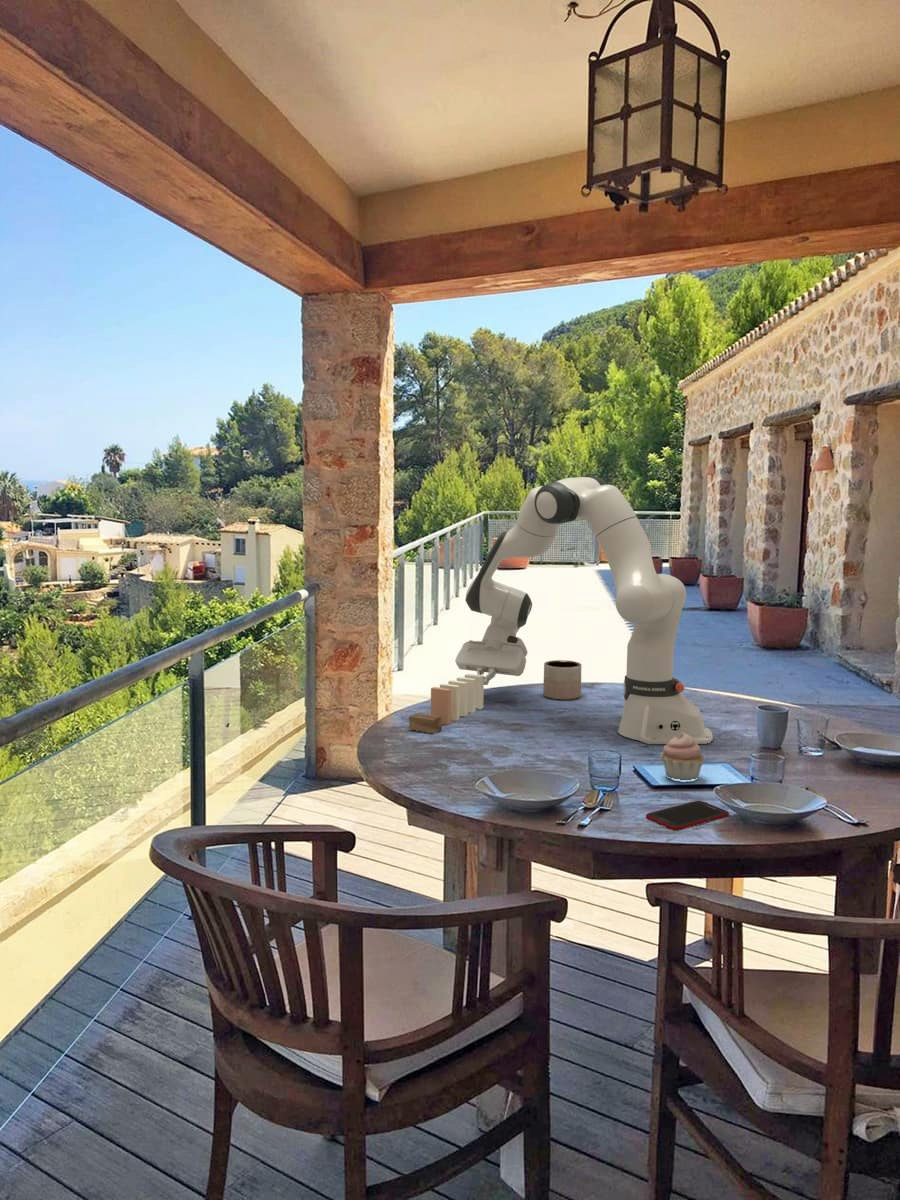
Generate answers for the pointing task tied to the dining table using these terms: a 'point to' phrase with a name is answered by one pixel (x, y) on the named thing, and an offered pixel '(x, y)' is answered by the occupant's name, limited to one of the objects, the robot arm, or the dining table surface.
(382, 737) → the dining table surface
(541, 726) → the dining table surface
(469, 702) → the domino
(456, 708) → the domino
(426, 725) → the block
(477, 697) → the domino
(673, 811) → the cell phone
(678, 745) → the cupcake
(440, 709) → the domino
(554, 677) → the planter
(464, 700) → the domino
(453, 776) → the dining table surface
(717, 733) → the dining table surface
